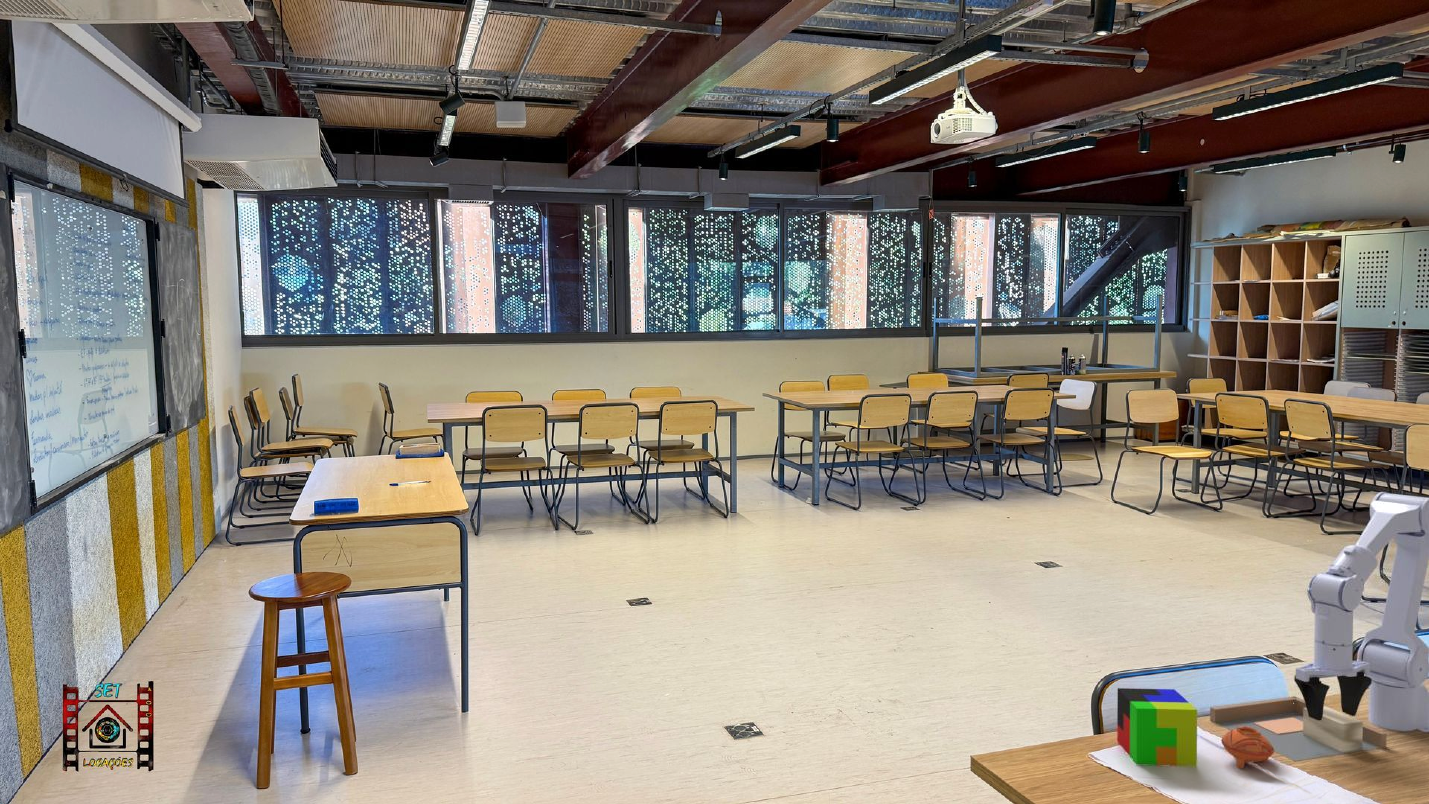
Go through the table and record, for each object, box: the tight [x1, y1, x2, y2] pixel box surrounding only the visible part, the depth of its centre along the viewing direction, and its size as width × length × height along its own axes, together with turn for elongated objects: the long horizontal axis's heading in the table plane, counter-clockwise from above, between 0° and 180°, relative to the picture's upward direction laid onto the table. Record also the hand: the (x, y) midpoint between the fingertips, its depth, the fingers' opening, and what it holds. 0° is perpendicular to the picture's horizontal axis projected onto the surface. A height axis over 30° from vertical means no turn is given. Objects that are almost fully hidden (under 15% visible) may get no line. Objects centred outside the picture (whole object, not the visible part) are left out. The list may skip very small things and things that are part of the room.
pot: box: [1220, 726, 1275, 770], centre depth 160 cm, size 8×8×7 cm
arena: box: [1209, 695, 1388, 762], centre depth 171 cm, size 20×19×3 cm
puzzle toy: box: [1116, 687, 1198, 767], centre depth 165 cm, size 10×10×10 cm
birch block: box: [1303, 705, 1364, 752], centre depth 167 cm, size 4×8×5 cm, turn 15°
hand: (1332, 716), depth 167 cm, fingers open, 7 cm apart
